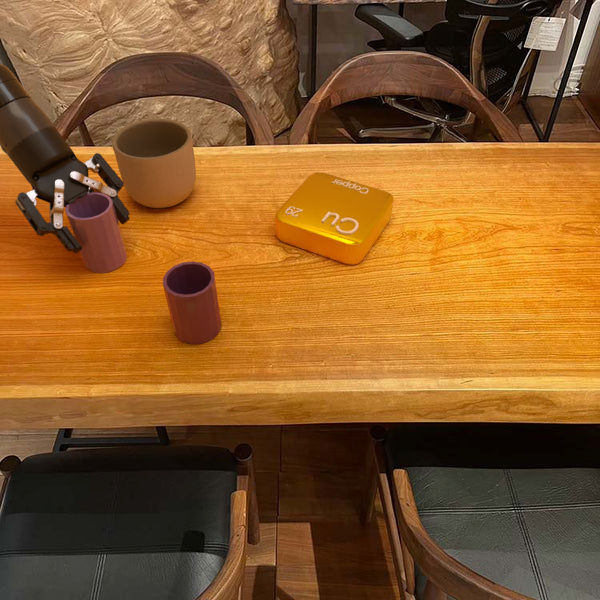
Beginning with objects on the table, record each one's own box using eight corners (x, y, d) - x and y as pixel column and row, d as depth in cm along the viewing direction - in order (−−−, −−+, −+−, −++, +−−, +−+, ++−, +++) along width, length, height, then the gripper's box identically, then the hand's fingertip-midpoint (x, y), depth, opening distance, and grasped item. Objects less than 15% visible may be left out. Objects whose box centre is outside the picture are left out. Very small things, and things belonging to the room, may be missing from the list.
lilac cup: (92, 278, 86) (73, 225, 79) (78, 254, 90) (59, 201, 83) (133, 263, 89) (118, 210, 82) (118, 240, 92) (103, 187, 85)
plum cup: (185, 351, 77) (175, 303, 70) (166, 320, 80) (155, 273, 74) (229, 332, 79) (223, 284, 73) (208, 303, 83) (201, 255, 76)
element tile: (394, 215, 97) (398, 191, 94) (357, 269, 88) (359, 244, 84) (314, 190, 102) (314, 166, 98) (270, 239, 93) (269, 214, 89)
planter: (149, 168, 107) (137, 112, 99) (211, 181, 104) (204, 125, 96) (112, 207, 98) (96, 150, 91) (178, 222, 95) (167, 165, 88)
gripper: (-12, 151, 75) (68, 255, 78) (79, 108, 83) (149, 204, 86) (-19, 172, 81) (56, 268, 84) (67, 130, 89) (132, 219, 92)
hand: (103, 236), depth 85 cm, fingers open, 8 cm apart
